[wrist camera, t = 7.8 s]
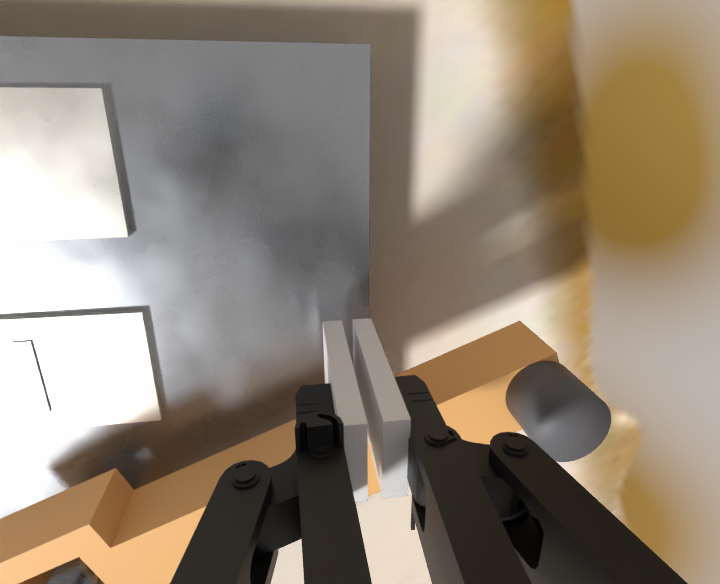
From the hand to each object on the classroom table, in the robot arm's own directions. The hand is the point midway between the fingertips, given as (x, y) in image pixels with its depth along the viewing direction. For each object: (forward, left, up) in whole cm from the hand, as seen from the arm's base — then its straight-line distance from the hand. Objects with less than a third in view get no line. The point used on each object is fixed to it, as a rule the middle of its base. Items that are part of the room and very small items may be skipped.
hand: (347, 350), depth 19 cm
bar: (+4, -3, 0) cm, 5 cm away
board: (-1, -8, -4) cm, 9 cm away
